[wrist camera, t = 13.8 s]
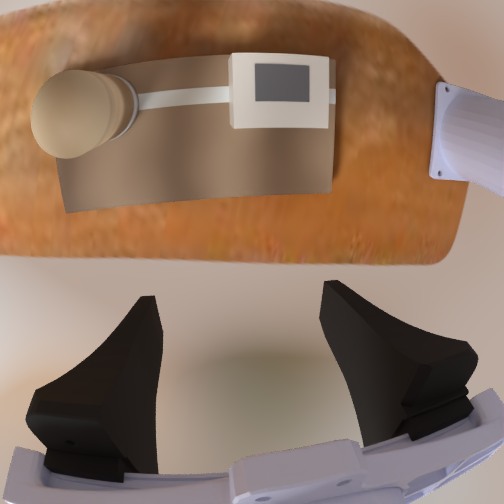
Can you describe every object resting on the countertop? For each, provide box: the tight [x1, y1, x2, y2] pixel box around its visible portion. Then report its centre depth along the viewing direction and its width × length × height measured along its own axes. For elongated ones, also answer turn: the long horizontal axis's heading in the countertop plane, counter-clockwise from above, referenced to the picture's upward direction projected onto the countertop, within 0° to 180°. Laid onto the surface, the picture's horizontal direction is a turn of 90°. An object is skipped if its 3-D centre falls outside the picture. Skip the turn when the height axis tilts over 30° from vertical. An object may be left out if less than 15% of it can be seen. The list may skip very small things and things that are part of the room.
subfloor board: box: [56, 55, 336, 213], centre depth 18 cm, size 18×9×1 cm, turn 91°
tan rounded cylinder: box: [31, 69, 139, 159], centre depth 13 cm, size 4×4×6 cm
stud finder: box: [228, 53, 329, 129], centre depth 16 cm, size 5×4×3 cm
